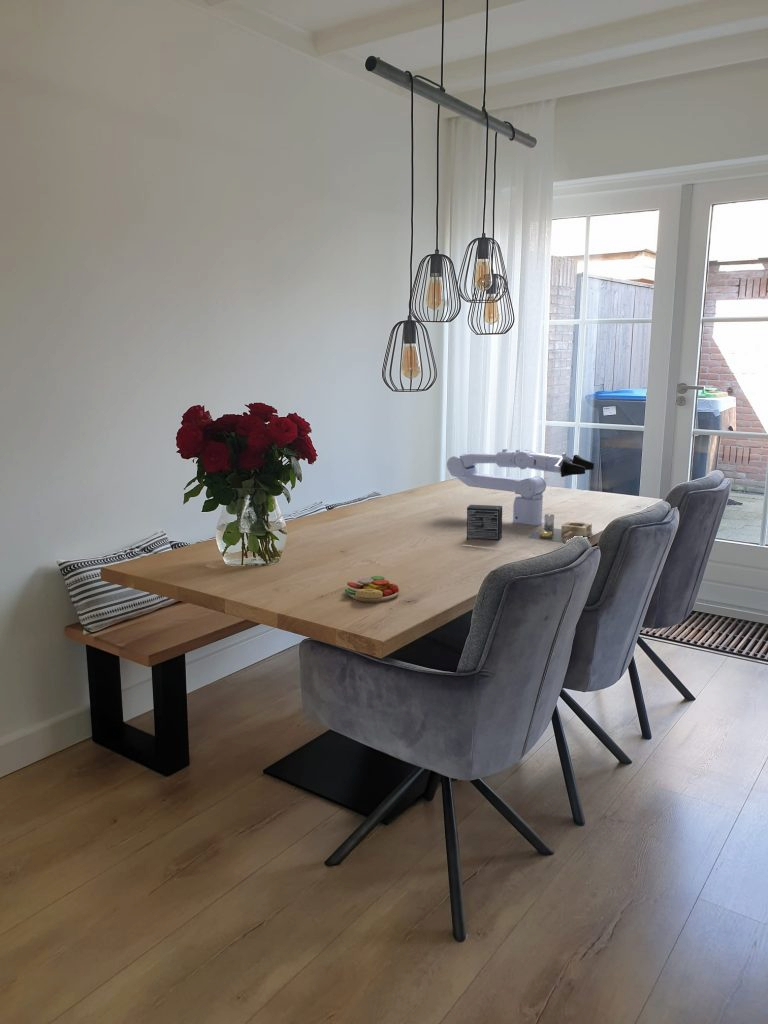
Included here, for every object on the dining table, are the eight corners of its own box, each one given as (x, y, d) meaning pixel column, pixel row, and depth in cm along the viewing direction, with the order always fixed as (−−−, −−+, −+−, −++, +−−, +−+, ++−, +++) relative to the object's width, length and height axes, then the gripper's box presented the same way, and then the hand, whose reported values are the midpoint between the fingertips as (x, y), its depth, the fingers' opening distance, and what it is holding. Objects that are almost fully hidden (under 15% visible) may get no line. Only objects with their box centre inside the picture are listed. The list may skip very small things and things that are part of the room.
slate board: (526, 539, 258) (526, 537, 258) (544, 528, 272) (544, 527, 272) (573, 544, 250) (573, 543, 250) (589, 533, 265) (589, 532, 265)
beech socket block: (561, 534, 261) (561, 525, 261) (568, 530, 268) (568, 521, 267) (584, 537, 258) (585, 528, 257) (591, 532, 264) (591, 523, 264)
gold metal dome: (537, 537, 257) (537, 532, 257) (541, 535, 261) (541, 529, 261) (549, 539, 256) (549, 533, 255) (553, 536, 259) (554, 531, 259)
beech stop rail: (562, 541, 252) (563, 535, 252) (569, 537, 258) (569, 531, 257) (566, 542, 252) (566, 535, 251) (572, 537, 257) (573, 531, 257)
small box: (502, 537, 261) (503, 505, 259) (499, 542, 254) (500, 509, 252) (469, 535, 263) (470, 503, 261) (466, 540, 257) (466, 507, 255)
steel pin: (542, 533, 263) (543, 515, 262) (545, 531, 266) (546, 513, 265) (551, 534, 262) (552, 516, 261) (554, 532, 264) (555, 514, 263)
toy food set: (364, 607, 193) (364, 594, 192) (334, 594, 203) (334, 581, 203) (409, 597, 200) (409, 584, 200) (378, 584, 211) (378, 572, 210)
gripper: (541, 455, 267) (581, 460, 259) (559, 447, 278) (598, 452, 271) (540, 476, 269) (580, 482, 261) (558, 467, 280) (596, 473, 273)
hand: (589, 468), depth 266 cm, fingers open, 7 cm apart
